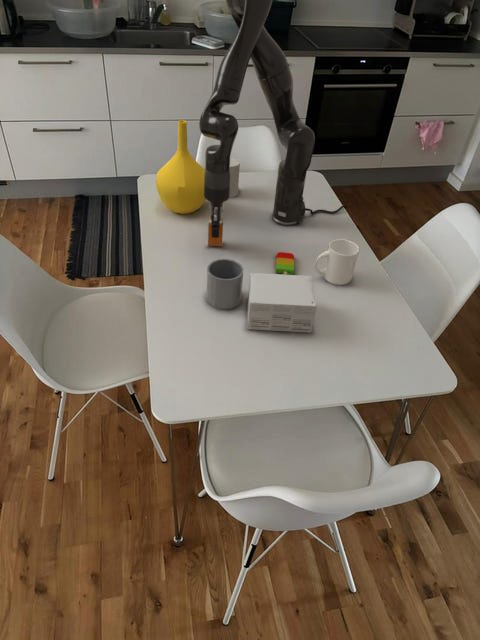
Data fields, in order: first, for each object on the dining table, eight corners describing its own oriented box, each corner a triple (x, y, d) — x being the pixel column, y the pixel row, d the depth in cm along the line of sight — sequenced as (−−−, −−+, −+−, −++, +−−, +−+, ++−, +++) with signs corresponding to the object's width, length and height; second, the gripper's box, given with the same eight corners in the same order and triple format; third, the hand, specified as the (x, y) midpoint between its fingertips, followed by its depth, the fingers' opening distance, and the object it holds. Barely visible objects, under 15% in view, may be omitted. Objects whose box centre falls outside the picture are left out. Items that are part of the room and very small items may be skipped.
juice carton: (222, 240, 161) (223, 217, 156) (222, 246, 159) (222, 223, 153) (208, 239, 161) (209, 216, 156) (208, 245, 159) (208, 222, 153)
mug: (308, 269, 154) (314, 239, 146) (346, 268, 155) (353, 238, 148) (315, 286, 147) (322, 256, 140) (354, 285, 149) (363, 255, 142)
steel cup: (241, 288, 144) (243, 259, 138) (240, 310, 137) (243, 281, 130) (207, 286, 144) (208, 257, 137) (205, 308, 137) (206, 278, 130)
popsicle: (293, 257, 158) (294, 252, 157) (294, 286, 147) (295, 281, 145) (276, 256, 158) (276, 251, 157) (275, 284, 147) (276, 279, 145)
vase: (219, 206, 179) (223, 121, 160) (186, 226, 168) (185, 137, 148) (180, 189, 187) (179, 107, 167) (146, 207, 175) (140, 121, 156)
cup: (237, 198, 185) (239, 167, 177) (215, 196, 184) (216, 165, 177) (238, 188, 191) (240, 157, 183) (216, 186, 191) (217, 156, 183)
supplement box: (307, 302, 142) (312, 275, 135) (311, 333, 132) (317, 306, 125) (247, 298, 141) (249, 271, 135) (247, 329, 131) (249, 302, 125)
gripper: (229, 194, 141) (226, 246, 153) (230, 172, 152) (227, 222, 163) (202, 193, 141) (202, 245, 152) (205, 171, 151) (204, 221, 163)
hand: (215, 233), depth 158 cm, fingers closed on juice carton, 3 cm apart
